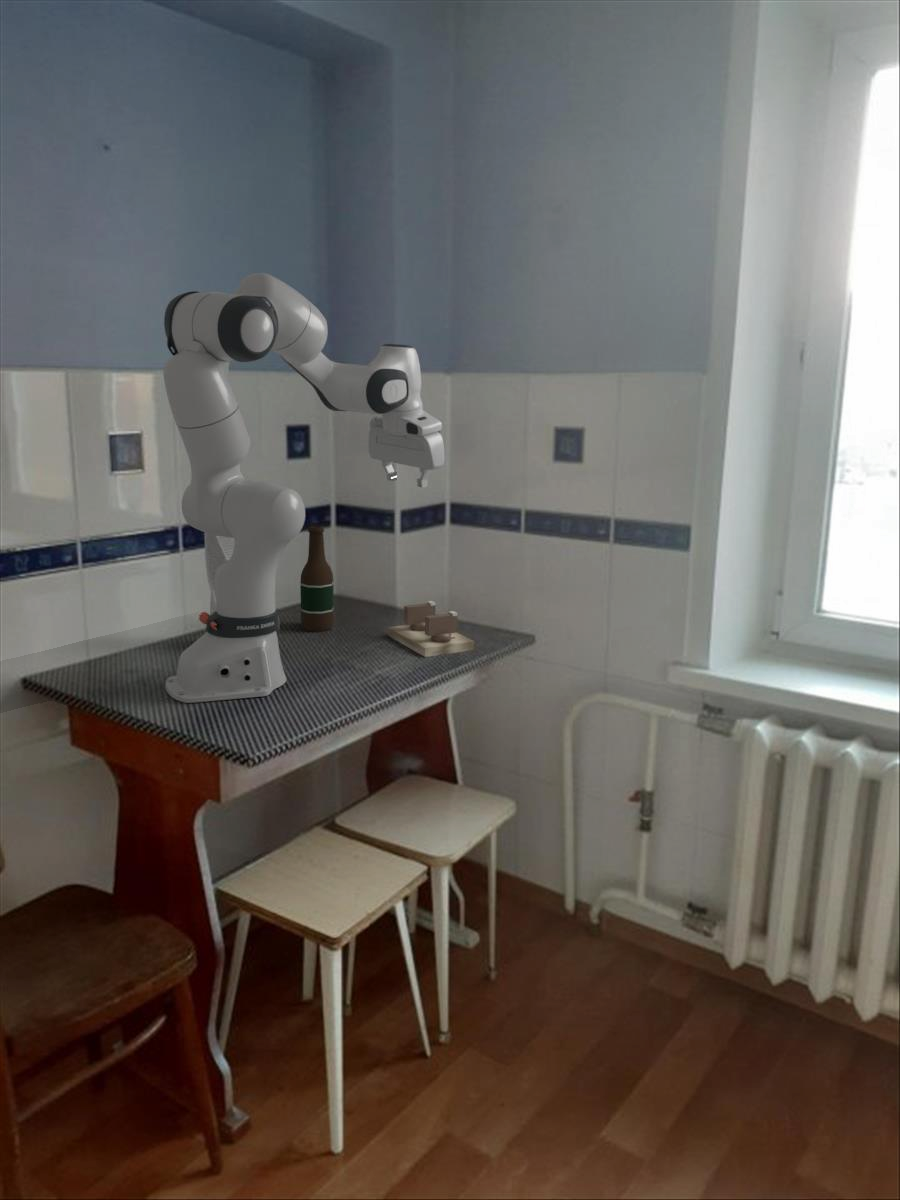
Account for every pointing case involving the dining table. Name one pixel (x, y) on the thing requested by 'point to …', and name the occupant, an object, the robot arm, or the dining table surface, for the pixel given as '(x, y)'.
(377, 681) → the dining table surface
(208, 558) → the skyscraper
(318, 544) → the beer bottle
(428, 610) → the knob far
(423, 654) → the control panel
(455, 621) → the knob near
